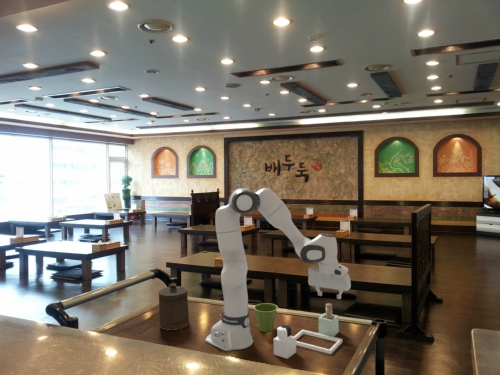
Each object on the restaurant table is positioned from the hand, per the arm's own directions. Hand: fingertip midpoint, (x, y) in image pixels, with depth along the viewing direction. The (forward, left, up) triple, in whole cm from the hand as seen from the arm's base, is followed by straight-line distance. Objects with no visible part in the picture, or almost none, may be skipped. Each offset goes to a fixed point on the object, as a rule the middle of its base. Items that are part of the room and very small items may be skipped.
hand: (329, 297), depth 194 cm
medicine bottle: (-10, -26, -19) cm, 34 cm away
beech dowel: (0, 0, -18) cm, 18 cm away
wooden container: (-74, -28, -19) cm, 81 cm away
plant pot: (-30, -9, -19) cm, 36 cm away
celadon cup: (-1, 0, -19) cm, 19 cm away
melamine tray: (-2, -12, -19) cm, 22 cm away
